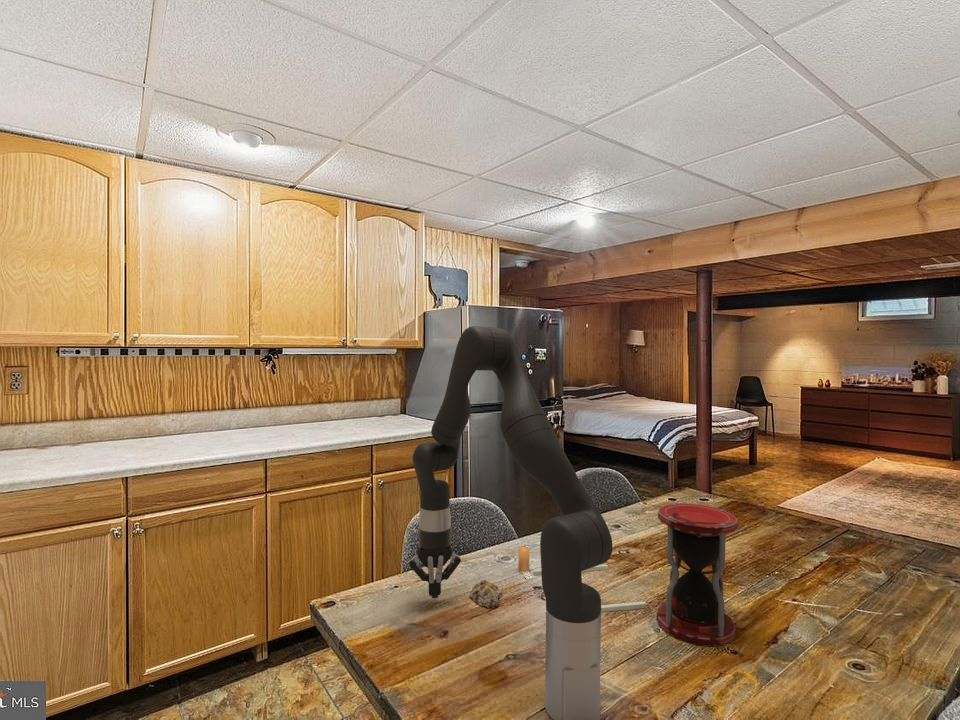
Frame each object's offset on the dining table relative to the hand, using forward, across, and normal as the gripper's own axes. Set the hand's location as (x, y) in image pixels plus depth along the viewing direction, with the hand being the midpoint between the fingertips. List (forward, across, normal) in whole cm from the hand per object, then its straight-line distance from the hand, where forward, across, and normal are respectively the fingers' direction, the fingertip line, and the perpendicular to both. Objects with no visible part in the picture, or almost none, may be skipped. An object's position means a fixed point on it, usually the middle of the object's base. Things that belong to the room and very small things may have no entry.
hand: (434, 596), depth 123 cm
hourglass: (+2, +56, -20) cm, 59 cm away
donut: (+2, +74, +8) cm, 75 cm away
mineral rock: (+2, +13, 0) cm, 13 cm away
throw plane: (+1, +36, 0) cm, 36 cm away
